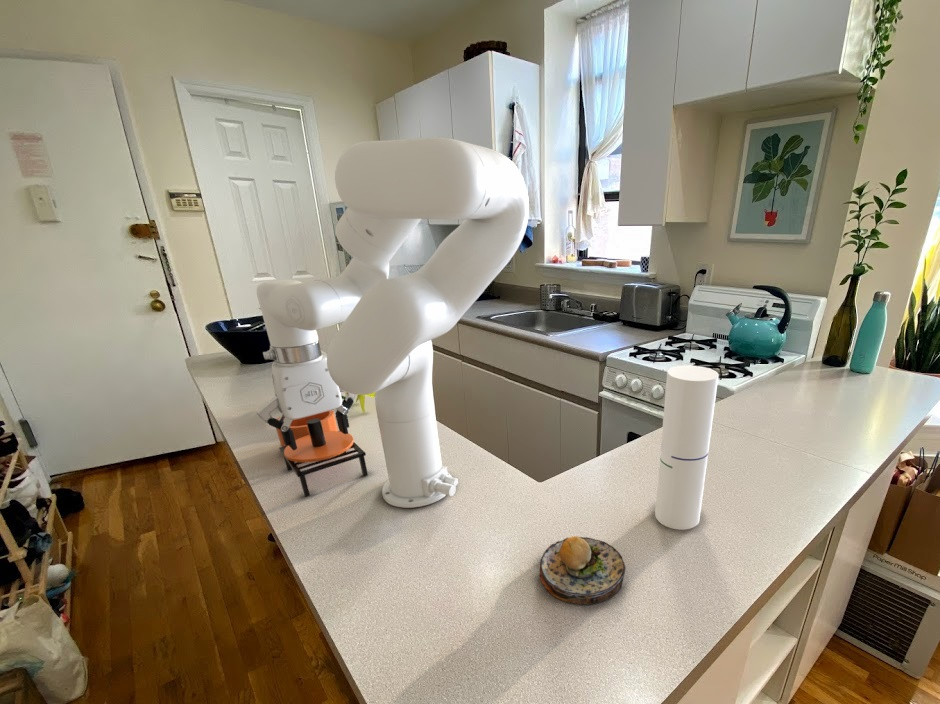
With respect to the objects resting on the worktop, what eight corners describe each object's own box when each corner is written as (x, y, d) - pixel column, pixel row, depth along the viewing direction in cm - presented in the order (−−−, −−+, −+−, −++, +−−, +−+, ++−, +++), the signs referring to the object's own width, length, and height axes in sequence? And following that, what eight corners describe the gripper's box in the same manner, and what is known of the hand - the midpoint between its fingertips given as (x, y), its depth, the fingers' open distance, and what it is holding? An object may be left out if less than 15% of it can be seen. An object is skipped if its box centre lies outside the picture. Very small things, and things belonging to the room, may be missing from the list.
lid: (367, 443, 92) (362, 414, 90) (314, 471, 83) (306, 439, 80) (325, 432, 98) (319, 404, 95) (271, 457, 88) (262, 427, 85)
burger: (639, 591, 62) (643, 546, 59) (556, 616, 58) (555, 569, 55) (601, 537, 72) (602, 497, 69) (529, 556, 68) (526, 514, 65)
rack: (370, 475, 91) (365, 452, 89) (304, 498, 84) (297, 474, 82) (346, 450, 100) (341, 429, 98) (285, 469, 93) (278, 447, 91)
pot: (351, 442, 104) (344, 411, 101) (307, 464, 95) (298, 431, 92) (317, 433, 109) (310, 403, 106) (272, 453, 100) (263, 422, 97)
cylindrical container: (691, 535, 72) (711, 384, 62) (648, 520, 76) (660, 375, 66) (704, 511, 78) (724, 369, 68) (663, 499, 81) (676, 362, 71)
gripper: (246, 367, 74) (274, 461, 81) (354, 347, 85) (371, 431, 92) (236, 358, 79) (263, 448, 86) (339, 340, 90) (356, 420, 97)
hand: (319, 439), depth 89 cm, fingers open, 9 cm apart
